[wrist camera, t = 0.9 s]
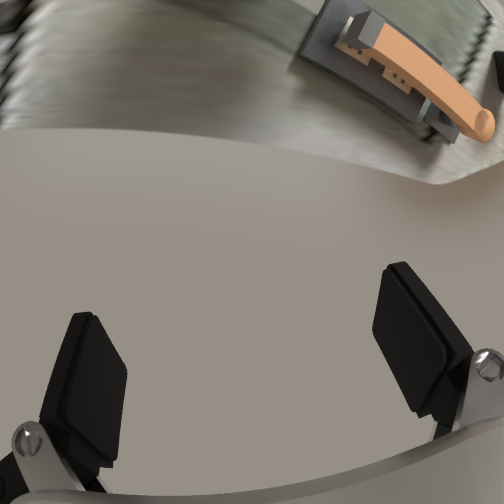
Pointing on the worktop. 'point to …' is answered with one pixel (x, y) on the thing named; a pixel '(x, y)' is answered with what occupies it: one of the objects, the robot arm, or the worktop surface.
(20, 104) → the worktop surface
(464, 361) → the robot arm
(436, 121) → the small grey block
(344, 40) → the swing bar
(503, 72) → the battery charger
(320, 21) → the label panel
